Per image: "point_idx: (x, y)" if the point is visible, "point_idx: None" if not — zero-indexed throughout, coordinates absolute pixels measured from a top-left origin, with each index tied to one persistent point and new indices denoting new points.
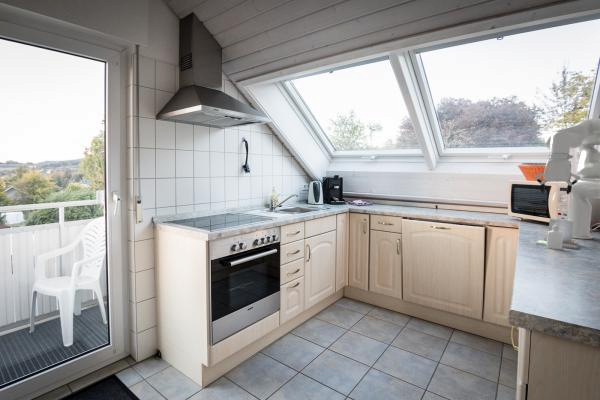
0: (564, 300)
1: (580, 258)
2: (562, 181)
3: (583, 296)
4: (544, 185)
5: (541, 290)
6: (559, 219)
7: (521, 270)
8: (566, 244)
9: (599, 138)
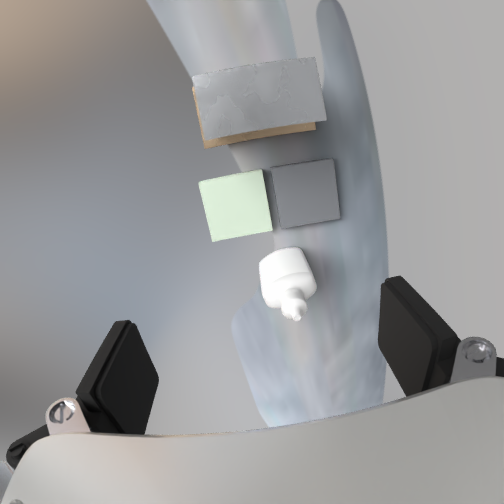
0: None
1: (362, 332)
2: (378, 412)
3: None
4: (129, 430)
5: None
6: (246, 90)
7: None
8: (302, 184)
9: None
